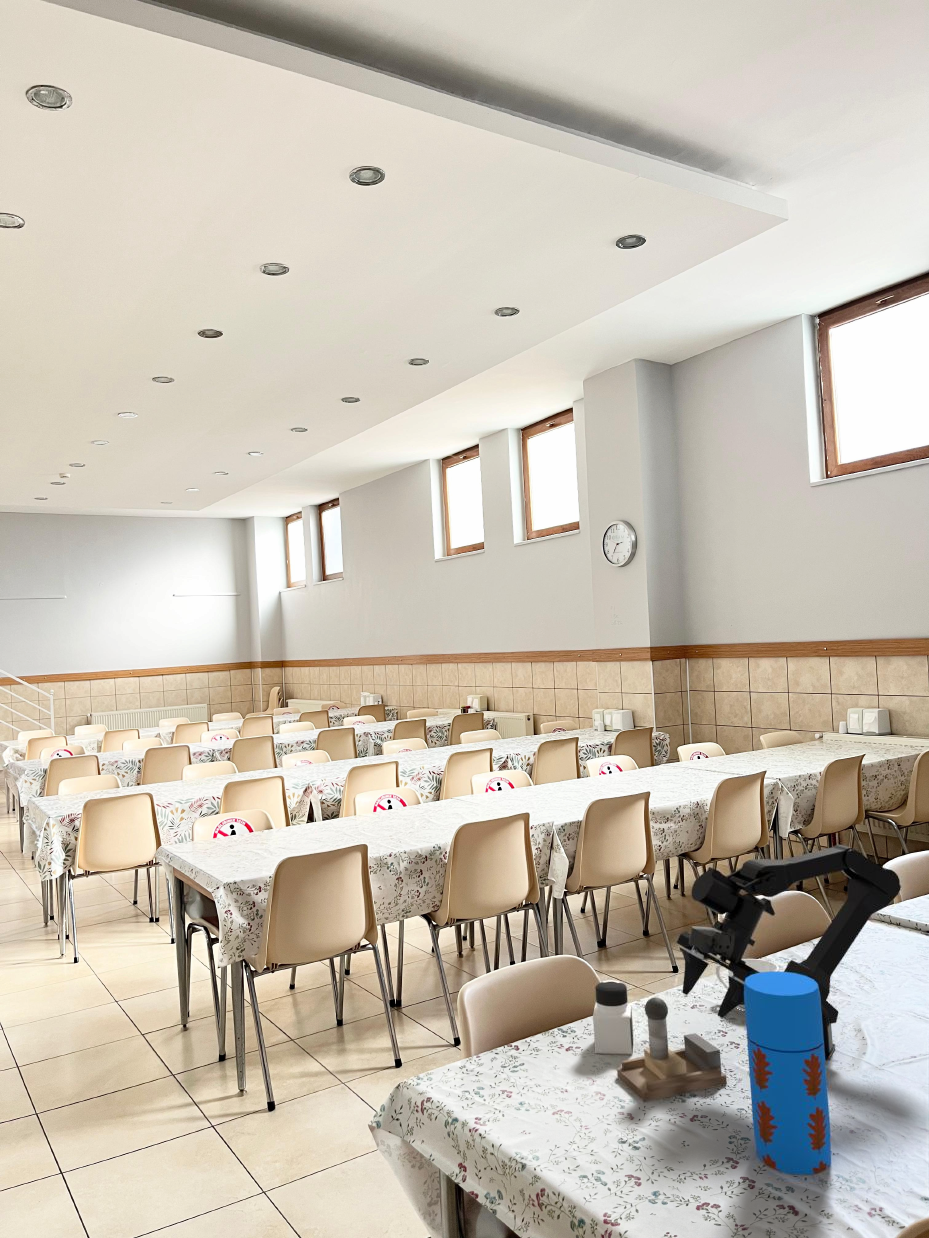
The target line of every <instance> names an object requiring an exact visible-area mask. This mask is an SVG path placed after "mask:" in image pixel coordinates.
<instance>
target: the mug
mask: <svg viewBox="0 0 929 1238" xmlns="http://www.w3.org/2000/svg"><path fill="white" fill-rule="evenodd" d="M742 960H743V961H745V962H746V963H745V964H746V965H748V966H749V967H751V968H753V969H755V970H757V971H758V972H770V971H775V972H780V967H779V966H778V964H777V963H774V962H772V961H769V960H765V959H758V958H742ZM725 964H726V963H725ZM722 967H723V966H721V965H719V964H718V963H717V965H716V967H715V975H716V978H717V980H718V981H719V982H720V983H721V984H722V985H723V986H724V988H725V989H726V991H727V990H728V988H729V983H728V982H727V981H726V980H725V979H724V978H723V976H722V974H721V972H720V971H721V968H722ZM727 973H728V976H730V977H732V978H734V979H736V978H737V977H735V976H734V975H733V972H732V971H730V970H728V969H727ZM736 1008H738V1009H740V1010H743V1011H745V1002H742V1003H741V1004H739V1005H738V1006H737V1007H736ZM736 1008H735V1009H736ZM738 1009H737V1010H738ZM740 1010H739V1011H740ZM743 1011H742V1012H743Z"/></svg>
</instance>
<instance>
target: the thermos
mask: <svg viewBox="0 0 929 1238" xmlns="http://www.w3.org/2000/svg"><path fill="white" fill-rule="evenodd" d="M744 1002H745V1012H744V1016H745V1028H746V1041H747V1055H748V1056H747V1057H748V1058H747V1059H748V1070H749V1082H750V1083H749V1085H750V1099H751V1111H752V1112H751V1113H752V1124H753V1125H752V1126H753V1134H754V1143H755V1150H756V1154H757V1157H758V1158H759V1160H760V1161H761V1162H762V1163H763V1164H764V1165H766V1166H767V1167H770V1168H772V1169H774V1170H776V1171H778V1172H782V1173H785V1174H790V1175H798V1174H804V1176H808V1175H807V1174H809V1175H815V1173H816V1174H819V1173H821V1172H824V1171H826V1170H827V1169H828V1167H830V1166H831V1164H832V1150H831V1149H832V1147H831V1146H832V1144H831V1139H832V1138H831V1121H830V1107H829V1095H828V1093H829V1091H828V1083H827V1080H828V1079H827V1067H826V1059H825V1052H824V1039H823V1026H822V1013H821V999H820V992H819V987H818V984H817V983H816V982H815V980H813V979H811V978H809V977H807V976H804V975H800V974H796V973H790V972H784V971H779V972H775V971H770V972H760V973H756V974H753V975H750V976H749V977H747V978H746V979H745V984H744ZM813 1173H814V1174H813ZM805 1174H806V1175H805Z"/></svg>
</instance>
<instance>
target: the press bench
mask: <svg viewBox="0 0 929 1238" xmlns="http://www.w3.org/2000/svg"><path fill="white" fill-rule="evenodd" d="M683 1041H684V1048H680V1049H675V1050H671V1051H672V1052H674V1053H675V1054H676V1055H678V1056H679V1057H680V1058H682V1059H683V1060H684V1061H686V1072H687V1074H684V1075H680V1076H675V1077H670V1078H665V1079H660V1078H659V1077H658V1076H657V1075H655V1074H654V1073H653V1072H652V1071H651V1070H649V1069H648V1068H647V1067H646V1066H645V1057H644V1056H641V1057H640V1056H639V1057H635V1058H631V1059H626V1060H621V1067H619V1068H617V1069H616V1073H617V1074H616V1075H617V1079H618V1080H620V1082H622V1083H623V1084H624V1085H625V1086H626V1087H627V1088H628V1089H630V1091H632V1092H633V1093H634V1094H635V1095H636V1096H637V1097H639V1099H641V1100H642V1101H643V1102H644V1103H646V1102H651V1101H655V1100H659V1099H663V1098H664V1099H666V1098H669V1097H674V1096H678V1095H682V1094H687V1093H691V1092H692V1093H693V1092H697V1091H702V1090H705V1089H706V1090H707V1089H710V1088H711V1089H712V1088H715V1087H719V1086H720V1087H721V1086H726V1085H727V1084H728V1083H727V1082H728V1079H727V1075H726V1074H725V1073H724V1072H722V1062H721V1060H722V1059H721V1050H720V1049H719V1048H718V1047H717V1046H715V1045H714V1044H712V1043H710V1042H709V1041H708V1040H707V1039H705V1038H703V1036H702V1037H701V1036H700V1035H699V1034H697V1033H695V1032H693V1033H689V1034H685V1035H683Z"/></svg>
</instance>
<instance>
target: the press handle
mask: <svg viewBox="0 0 929 1238" xmlns="http://www.w3.org/2000/svg"><path fill="white" fill-rule="evenodd" d="M644 1012H645V1016H646V1017H647V1026H648V1027H647V1028H648V1043H649V1045H648V1046H649V1047H646V1048H644V1049H643V1052H644V1053H643V1054H644V1056H643V1057H645V1066H646V1067H647V1068H648V1069H649V1070H651V1071H652V1072H653V1073H654V1074H655V1075H657V1076H658V1077H659V1078H660V1079H665V1078H670V1077H675V1076H680V1075H684V1074H687V1072H686V1061H684V1060H683V1059H682V1058H680V1057H679V1056H678V1055H676V1054H675V1053H674V1052H672V1051H673V1050H671V1049H670V1048H669V1042H668V1041H669V1040H668V1038H669V1037H668V1026H667V1025H668V1024H667V1017H668V1014H669V1008H668V1005H667V1003H666V1002H665V1001H664V1000H663V999H662V998H660V997H651V998H649V999H648V1000H647V1001H646V1002H645V1005H644Z"/></svg>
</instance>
